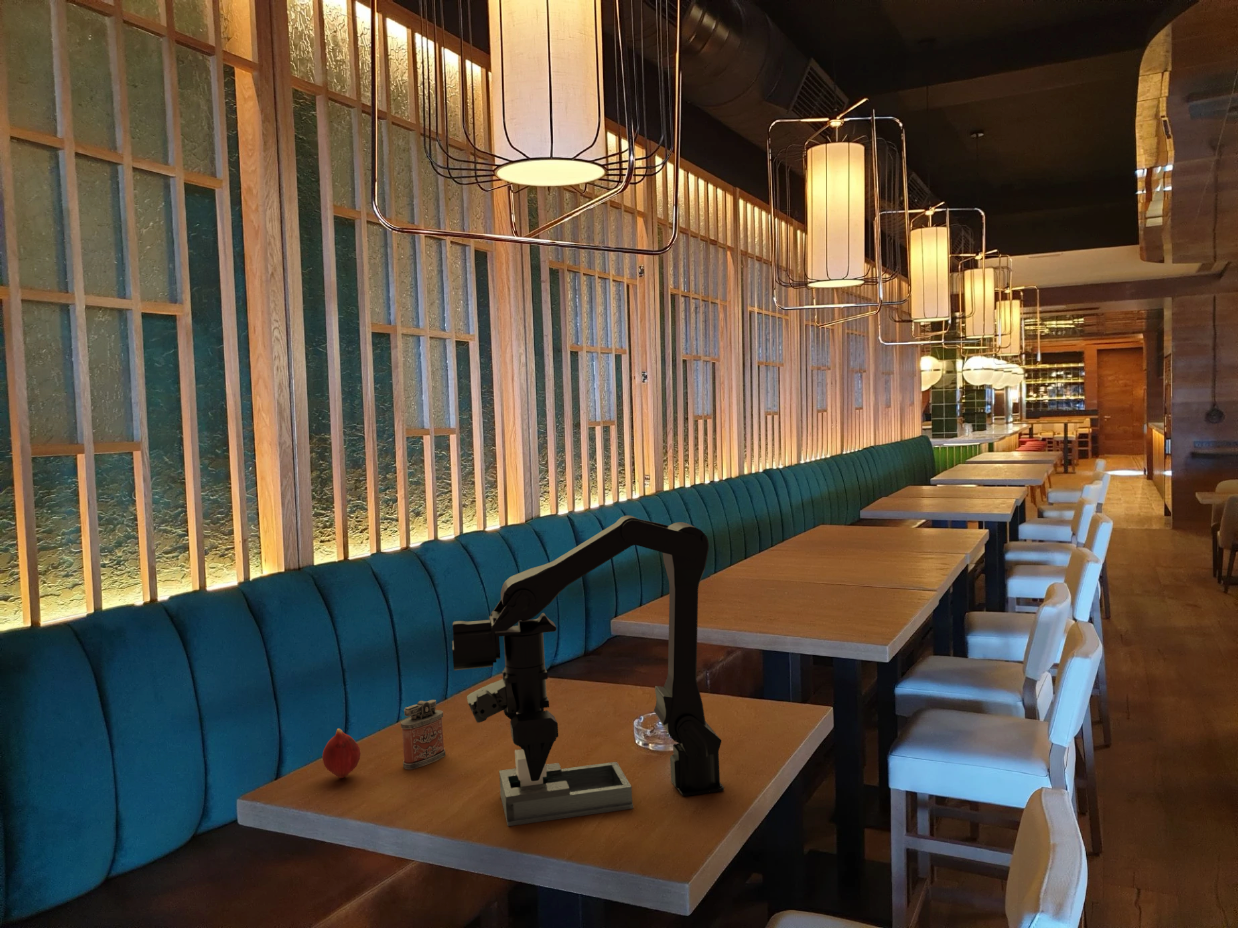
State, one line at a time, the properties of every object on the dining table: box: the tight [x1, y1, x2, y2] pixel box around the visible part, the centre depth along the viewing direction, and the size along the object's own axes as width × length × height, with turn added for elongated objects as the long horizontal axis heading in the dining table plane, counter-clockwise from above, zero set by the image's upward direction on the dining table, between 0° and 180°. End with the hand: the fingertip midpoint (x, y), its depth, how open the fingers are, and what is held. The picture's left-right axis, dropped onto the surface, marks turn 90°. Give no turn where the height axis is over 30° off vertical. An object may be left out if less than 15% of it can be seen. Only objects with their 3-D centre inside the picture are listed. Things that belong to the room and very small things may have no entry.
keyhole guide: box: [499, 761, 634, 827], centre depth 136 cm, size 18×11×4 cm, turn 102°
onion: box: [321, 728, 361, 779], centre depth 149 cm, size 6×6×8 cm
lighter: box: [400, 699, 446, 770], centre depth 155 cm, size 8×3×10 cm, turn 141°
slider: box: [514, 748, 547, 787], centre depth 135 cm, size 6×6×7 cm
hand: (530, 768), depth 135 cm, fingers open, 9 cm apart
